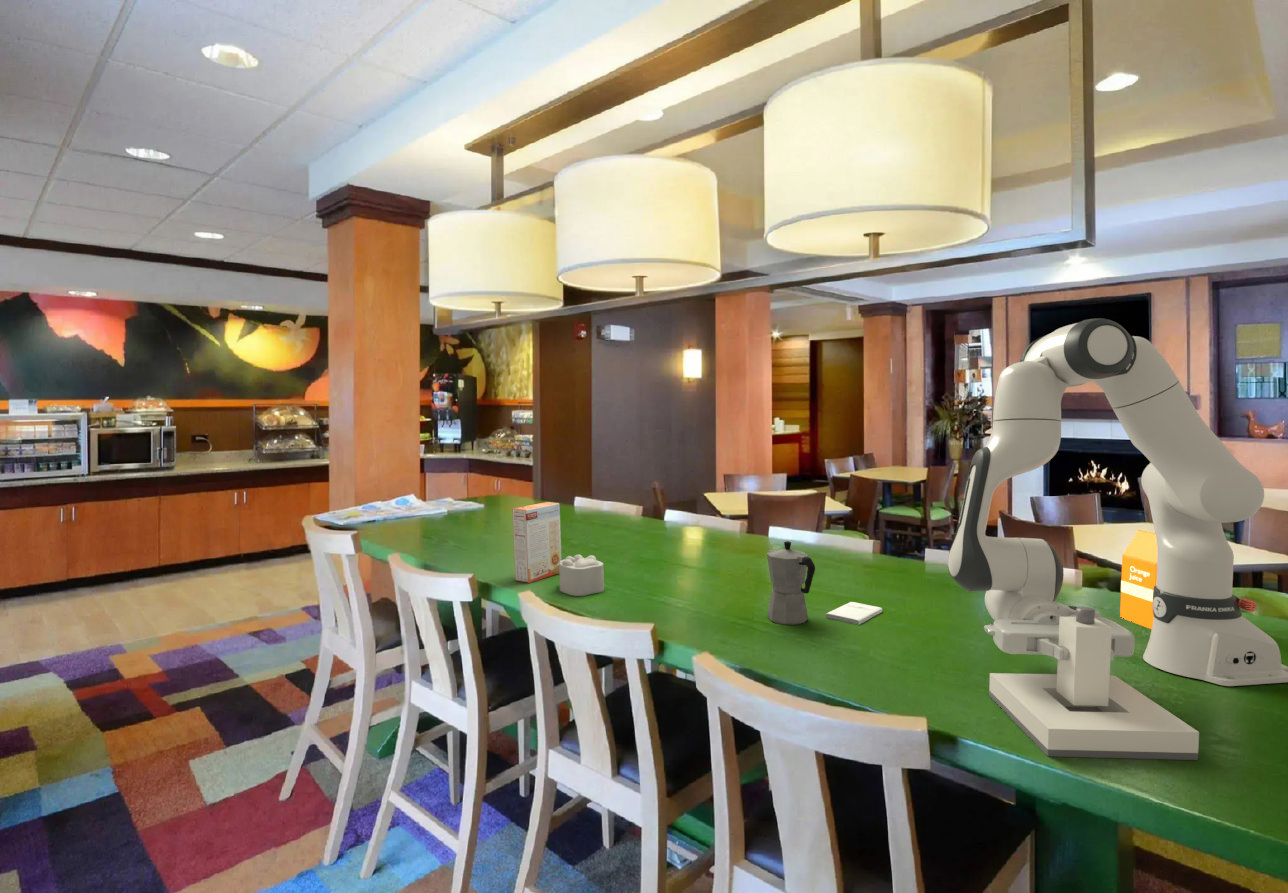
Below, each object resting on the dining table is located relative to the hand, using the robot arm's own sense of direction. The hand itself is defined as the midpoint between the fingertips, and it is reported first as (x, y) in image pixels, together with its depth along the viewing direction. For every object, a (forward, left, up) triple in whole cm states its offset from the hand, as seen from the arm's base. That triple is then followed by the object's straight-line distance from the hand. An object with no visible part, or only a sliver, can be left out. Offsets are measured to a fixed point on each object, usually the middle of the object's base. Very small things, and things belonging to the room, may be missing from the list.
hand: (1086, 656), depth 107 cm
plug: (0, -1, -7) cm, 7 cm away
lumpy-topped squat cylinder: (+91, -76, -11) cm, 119 cm away
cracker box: (+105, -88, -11) cm, 137 cm away
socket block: (0, -1, -11) cm, 11 cm away
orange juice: (-41, -52, -11) cm, 67 cm away
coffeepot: (+38, -51, -11) cm, 64 cm away
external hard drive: (+22, -55, -12) cm, 61 cm away
